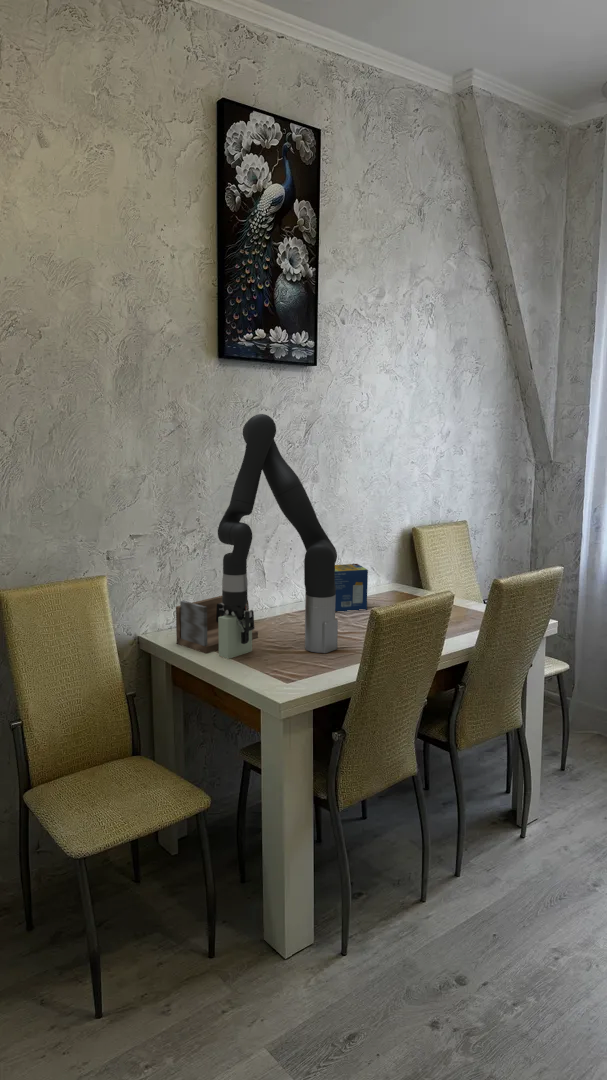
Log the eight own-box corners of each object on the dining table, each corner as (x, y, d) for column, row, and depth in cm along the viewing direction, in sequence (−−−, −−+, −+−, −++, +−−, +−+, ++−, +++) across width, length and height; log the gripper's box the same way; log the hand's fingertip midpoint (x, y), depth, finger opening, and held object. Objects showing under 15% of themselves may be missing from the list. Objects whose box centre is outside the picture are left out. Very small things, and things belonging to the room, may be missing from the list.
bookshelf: (257, 637, 242) (257, 595, 240) (206, 653, 226) (205, 608, 224) (228, 628, 252) (227, 588, 249) (176, 643, 235) (175, 600, 233)
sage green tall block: (252, 651, 229) (252, 613, 227) (227, 659, 221) (227, 619, 219) (242, 648, 231) (242, 610, 229) (218, 656, 224) (218, 617, 222)
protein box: (319, 605, 282) (319, 565, 280) (357, 603, 287) (358, 563, 284) (328, 613, 273) (328, 571, 270) (367, 610, 277) (368, 569, 274)
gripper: (260, 590, 221) (260, 642, 224) (228, 582, 231) (228, 632, 233) (242, 594, 216) (241, 648, 219) (209, 586, 225) (209, 637, 228)
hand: (234, 640), depth 226 cm, fingers open, 8 cm apart
